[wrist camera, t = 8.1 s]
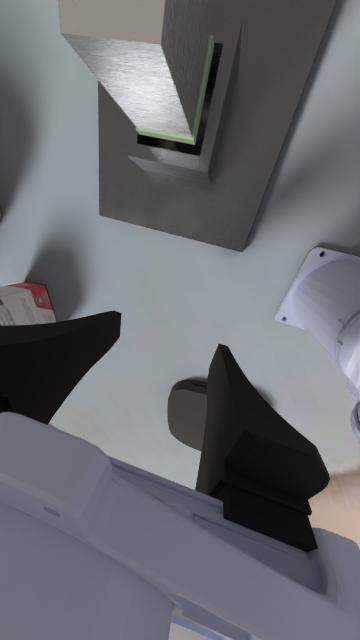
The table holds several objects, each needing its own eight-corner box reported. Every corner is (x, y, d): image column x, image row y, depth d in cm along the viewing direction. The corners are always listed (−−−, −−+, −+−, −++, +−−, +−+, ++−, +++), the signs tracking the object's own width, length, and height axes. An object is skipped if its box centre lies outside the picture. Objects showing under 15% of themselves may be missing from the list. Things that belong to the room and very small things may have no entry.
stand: (345, -29, 10) (424, -207, 6) (241, 251, 18) (245, 255, 14) (106, -42, 12) (45, -184, 8) (105, 216, 20) (73, 210, 15)
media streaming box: (249, 447, 31) (251, 466, 29) (173, 428, 34) (168, 444, 32) (265, 391, 25) (270, 409, 22) (170, 374, 28) (165, 388, 26)
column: (214, 51, 10) (194, -249, 4) (195, 147, 12) (162, 49, 6) (148, 43, 10) (38, -233, 4) (141, 136, 12) (58, 36, 6)
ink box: (20, 280, 27) (-108, 307, 17) (45, 284, 26) (-75, 314, 16) (38, 327, 31) (-58, 372, 21) (60, 332, 30) (-28, 382, 20)
